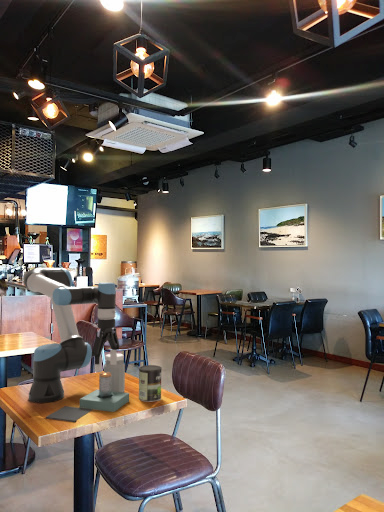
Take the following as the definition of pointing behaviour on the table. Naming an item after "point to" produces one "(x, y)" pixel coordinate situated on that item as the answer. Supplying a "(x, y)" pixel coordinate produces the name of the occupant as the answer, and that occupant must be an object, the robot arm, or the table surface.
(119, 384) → the jar
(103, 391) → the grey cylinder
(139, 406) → the table surface
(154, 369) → the coffee can
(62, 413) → the mat
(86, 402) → the block
